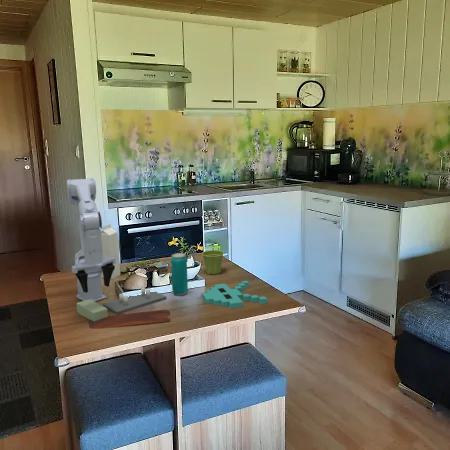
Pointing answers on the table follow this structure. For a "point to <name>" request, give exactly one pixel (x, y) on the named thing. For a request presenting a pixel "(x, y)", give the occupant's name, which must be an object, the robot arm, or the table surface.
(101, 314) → the pale green block
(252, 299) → the alien figure
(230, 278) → the table surface
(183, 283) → the beverage can
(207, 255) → the plant pot
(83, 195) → the robot arm
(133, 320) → the wooden tablet
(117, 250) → the milk
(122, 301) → the peg rack
